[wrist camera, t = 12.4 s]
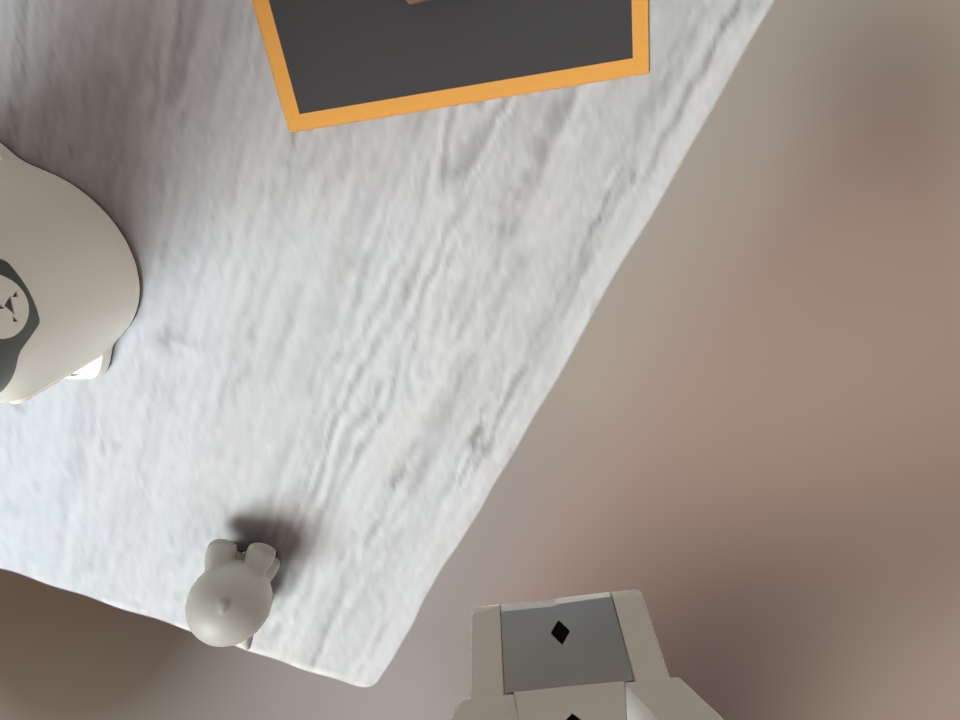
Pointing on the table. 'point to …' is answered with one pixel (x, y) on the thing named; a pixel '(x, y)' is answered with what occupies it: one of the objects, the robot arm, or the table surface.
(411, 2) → the block
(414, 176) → the table surface
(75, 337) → the robot arm
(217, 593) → the round bodied animal figurine
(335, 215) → the table surface
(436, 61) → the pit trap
